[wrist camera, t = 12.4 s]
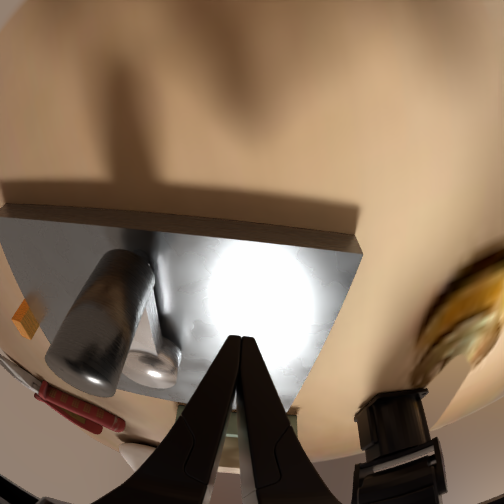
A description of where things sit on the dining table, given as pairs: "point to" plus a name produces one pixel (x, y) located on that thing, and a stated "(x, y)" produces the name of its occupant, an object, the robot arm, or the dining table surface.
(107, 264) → the crank
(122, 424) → the pliers
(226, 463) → the block
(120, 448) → the flower in vase
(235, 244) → the base
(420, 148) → the dining table surface
